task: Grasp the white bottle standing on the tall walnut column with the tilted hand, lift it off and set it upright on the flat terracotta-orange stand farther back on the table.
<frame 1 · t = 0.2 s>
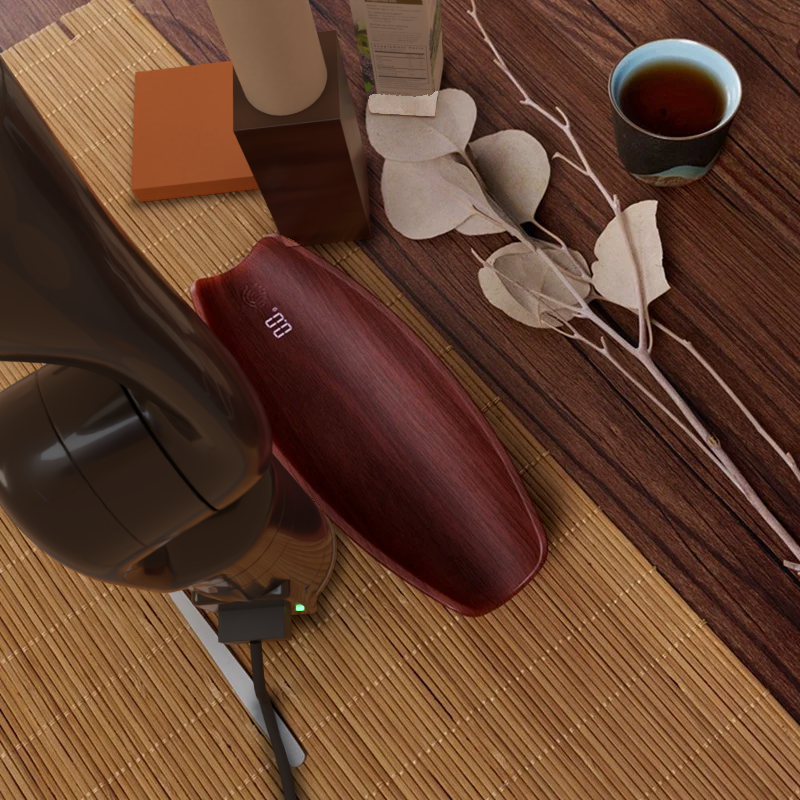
column: (326, 205, 75), on the table
syrup box: (408, 90, 78), on the table
white bottle: (285, 79, 60), point 16 cm above the table, touching column
stand: (207, 135, 79), on the table
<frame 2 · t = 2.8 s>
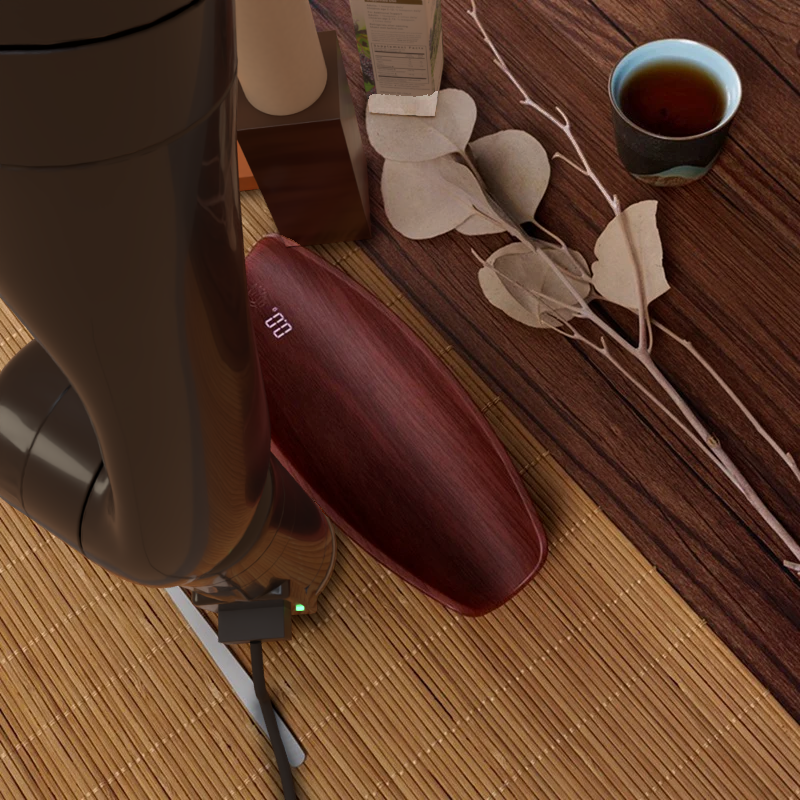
nothing on the table moved.
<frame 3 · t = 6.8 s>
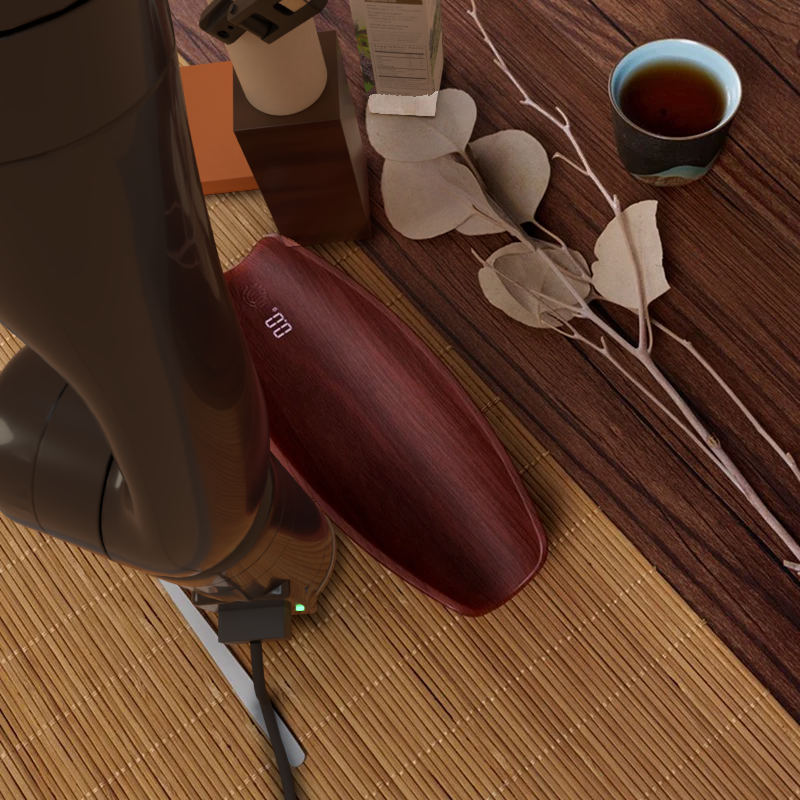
white bottle: (285, 79, 60), point 16 cm above the table, touching column, gripper
everything else where it was.
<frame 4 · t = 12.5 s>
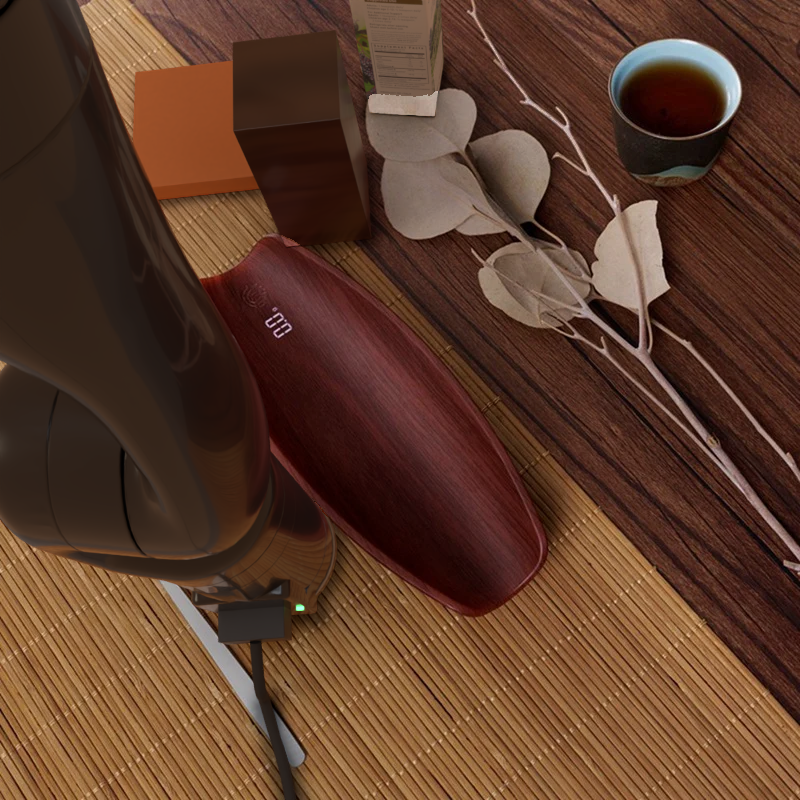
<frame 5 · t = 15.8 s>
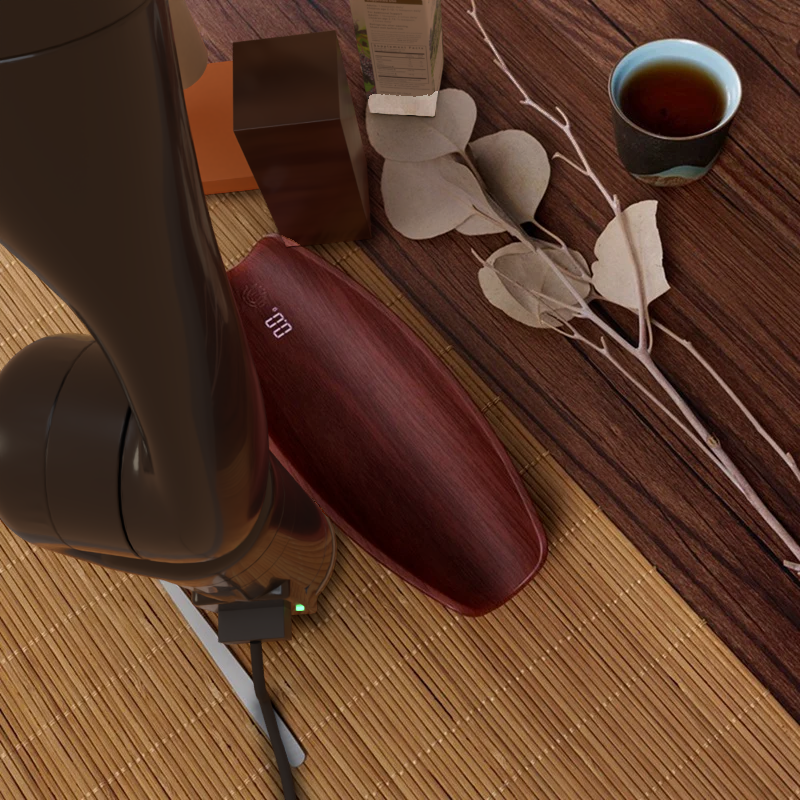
white bottle: (172, 62, 70), point 9 cm above the table, touching gripper
everything else where it was.
when the fingers open (10 cm above the table, at t = 18.4 s): white bottle stays where it is, resting on stand.
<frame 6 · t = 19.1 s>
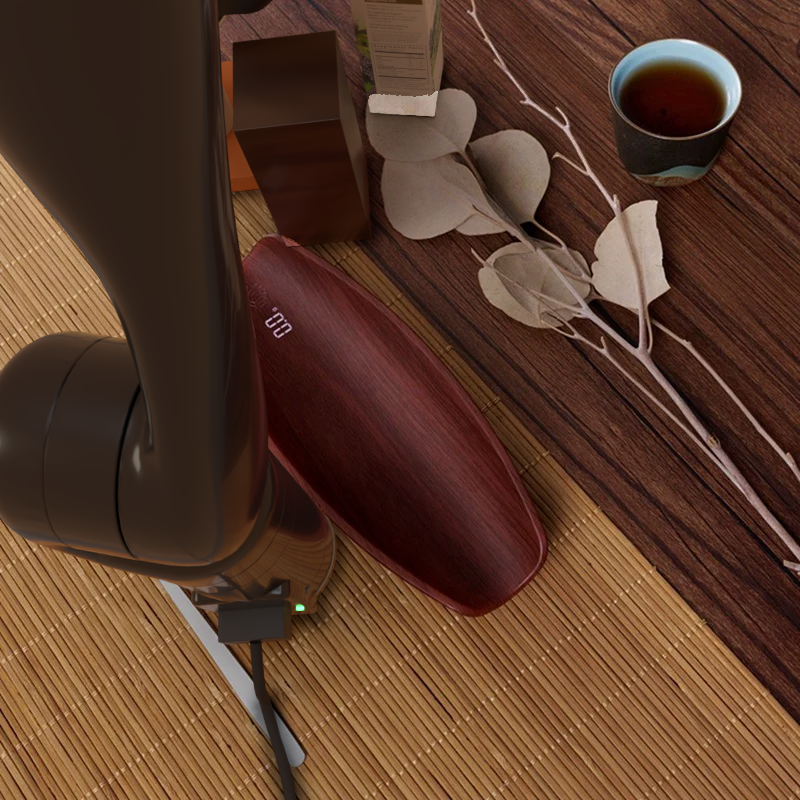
hand: (146, 44, 68), 11 cm above the table, tool tilted 45°, fingers open, 8 cm apart
white bottle: (201, 120, 77), point 2 cm above the table, touching stand
everything else where it was.
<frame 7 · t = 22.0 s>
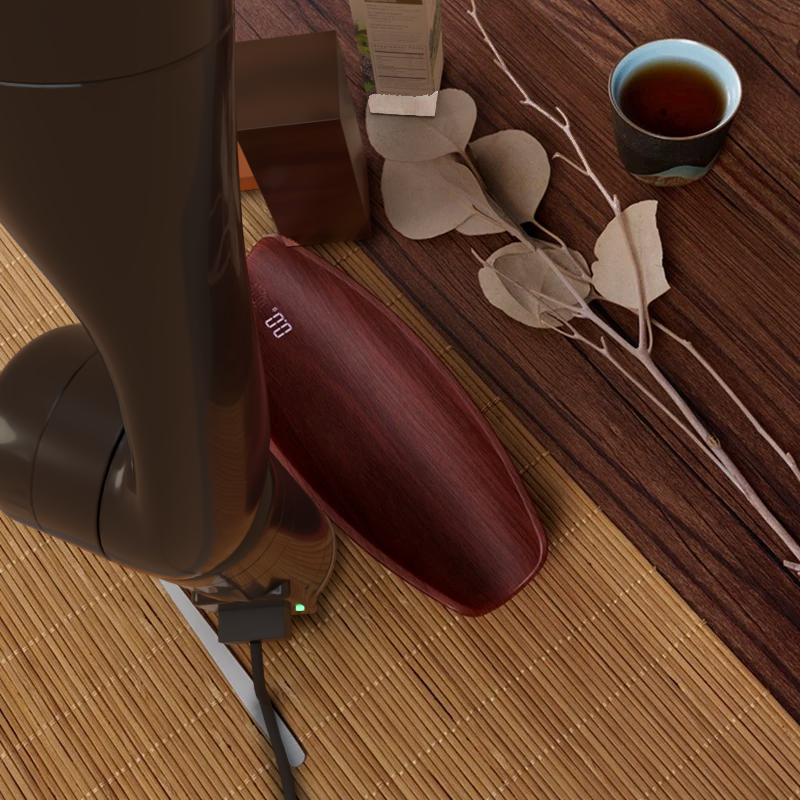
nothing on the table moved.
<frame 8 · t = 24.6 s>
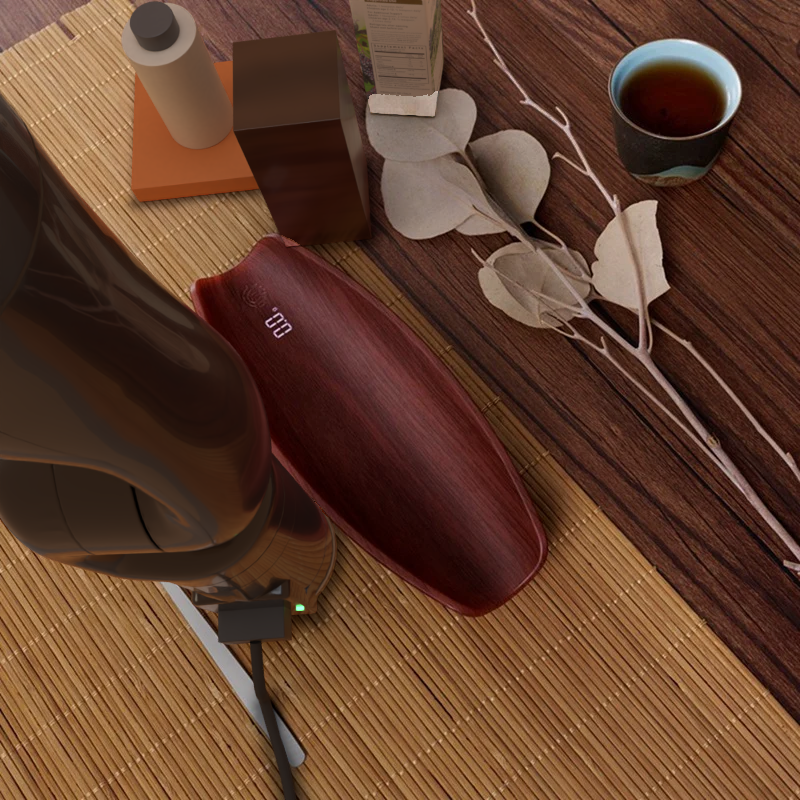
nothing on the table moved.
at the end: white bottle inside the target area on the stand (0.1 cm from its centre), point 2.0 cm above the stand's base; white bottle tilted 0°; the gripper is holding nothing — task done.
